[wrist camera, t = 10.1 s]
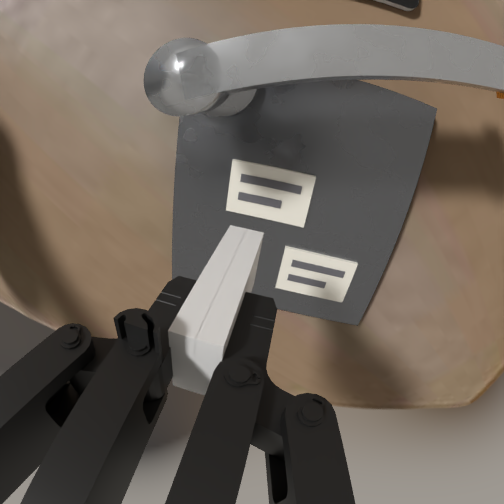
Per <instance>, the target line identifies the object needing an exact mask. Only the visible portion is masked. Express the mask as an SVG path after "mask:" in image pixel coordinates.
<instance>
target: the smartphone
mask: <svg viewBox="0 0 504 504" xmlns="http://www.w3.org/2000/svg"><path fill="white" fill-rule="evenodd" d="M375 1H378V2H381V3H385V4H388V5H391V6H394V7H397V8H399V9H402V10H405V11H411V10H413V9H415V8H416V7H417V6H418V4H419V0H375Z"/></svg>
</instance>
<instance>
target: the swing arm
mask: <svg viewBox="0 0 504 504" xmlns="http://www.w3.org/2000/svg"><path fill="white" fill-rule="evenodd" d="M361 79H384V80H411V81H425V82H436V83H445V84H453V85H461V86H467V87H474V88H479V89H485V90H490V91H495V92H496V93H497V98H501V99H504V46H501V45H497V44H494V43H491V42H487V41H483V40H480V39H476V38H471V37H467V36H463V35H458V34H453V33H448V32H442V31H436V30H430V29H422V28H414V27H404V26H392V25H372V24H339V25H318V26H306V27H296V28H287V29H279V30H272V31H266V32H260V33H254V34H249V35H244V36H239V37H234V38H230V39H225V40H221V41H217V42H213V43H209V44H207V43H205V42H203V41H200V40H198V39H194V38H180V39H175V40H172V41H170V42H168V43H166V44H164V45H163V46H161V47H160V48H159V49H158V50H157V51H156V52H155V53H154V54H153V55H152V57H151V58H150V60H149V62H148V64H147V66H146V69H145V73H144V88H145V92H146V95H147V97H148V99H149V101H150V102H151V103H152V105H153V106H154V107H155V108H156V109H158V110H159V111H161V112H163V113H165V114H167V115H171V116H186V115H192V114H198V113H204V112H208V111H211V110H213V109H215V108H217V107H219V106H220V105H221V104H223V103H224V102H225V101H226V99H227V98H228V97H229V95H230V94H231V93H236V92H242V91H247V90H253V89H259V88H266V87H273V86H280V85H288V84H297V83H307V82H319V81H334V80H361Z"/></svg>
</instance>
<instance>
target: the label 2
mask: <svg viewBox="0 0 504 504" xmlns="http://www.w3.org/2000/svg"><path fill="white" fill-rule="evenodd" d="M357 265H358V263H357V262H353V261H349V260H344V259H340V258H336V257H332V256H328V255H323V254H319V253H315V252H310V251H306V250H302V249H298V248H293V247H289V246H285V250H284V254H283V258H282V262H281V266H280V270H279V275H278V279H277V283H276V287H275V288H278V289H283V290H287V291H292V292H296V293H301V294H305V295H309V296H314V297H319V298H323V299H328V300H332V301H337V302H343V300H344V297H345V295H346V293H347V290H348V288H349V285H350V283H351V280H352V278H353V275H354V273H355V270H356V268H357Z"/></svg>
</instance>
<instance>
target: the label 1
mask: <svg viewBox="0 0 504 504" xmlns="http://www.w3.org/2000/svg"><path fill="white" fill-rule="evenodd" d="M315 180H316V176H314V175H309V174H305V173H301V172H296V171H292V170H287V169H283V168H278V167H273V166H268V165H263V164H258V163H253V162H248V161H242V160H237V159H233V160H232V167H231V174H230V182H229V190H228V197H227V205H226V211H231V212H236V213H240V214H245V215H250V216H254V217H259V218H263V219H268V220H272V221H277V222H281V223H286V224H290V225H294V226H299V227H303V228H304V224H305V220H306V217H307V213H308V209H309V205H310V200H311V196H312V192H313V188H314V184H315Z"/></svg>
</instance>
